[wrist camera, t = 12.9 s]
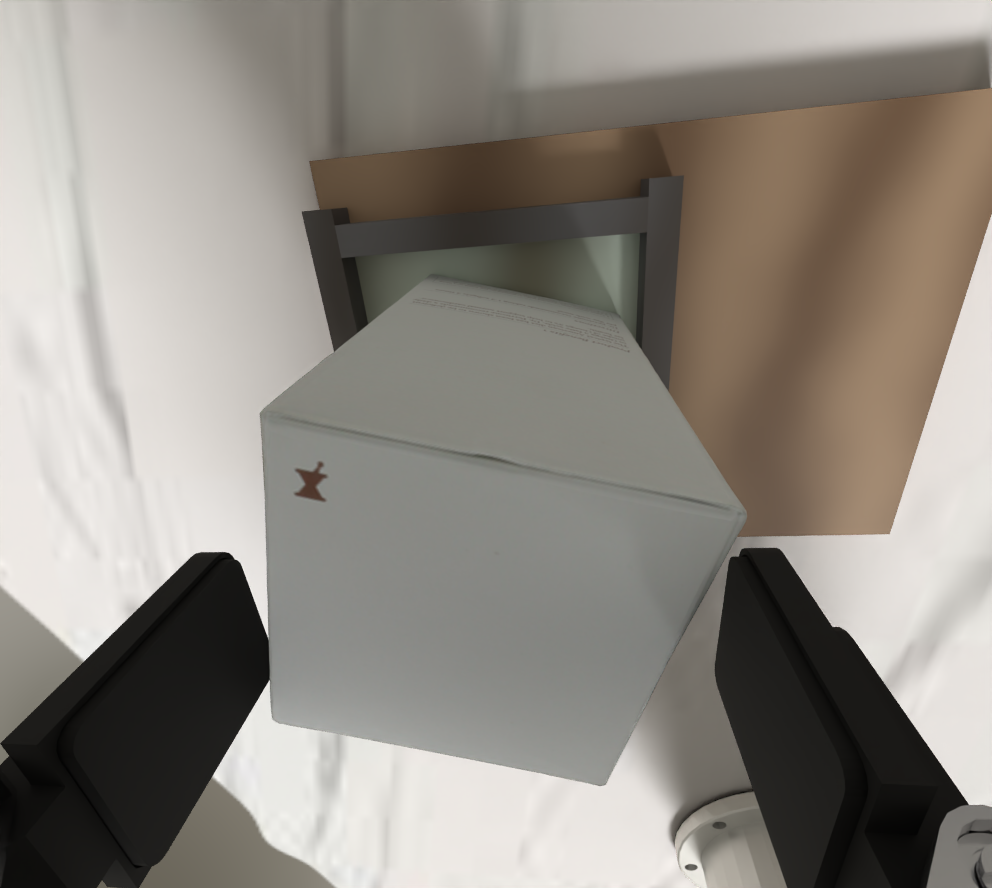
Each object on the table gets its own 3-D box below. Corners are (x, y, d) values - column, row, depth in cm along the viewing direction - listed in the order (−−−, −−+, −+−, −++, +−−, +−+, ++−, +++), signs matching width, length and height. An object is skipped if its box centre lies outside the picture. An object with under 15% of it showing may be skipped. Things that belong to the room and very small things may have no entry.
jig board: (991, 92, 16) (1081, 73, 13) (869, 514, 23) (912, 556, 20) (326, 163, 18) (289, 159, 16) (400, 524, 26) (383, 563, 23)
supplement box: (404, 446, 22) (253, 727, 10) (429, 267, 18) (242, 395, 7) (573, 483, 22) (606, 802, 10) (629, 312, 18) (765, 511, 7)
